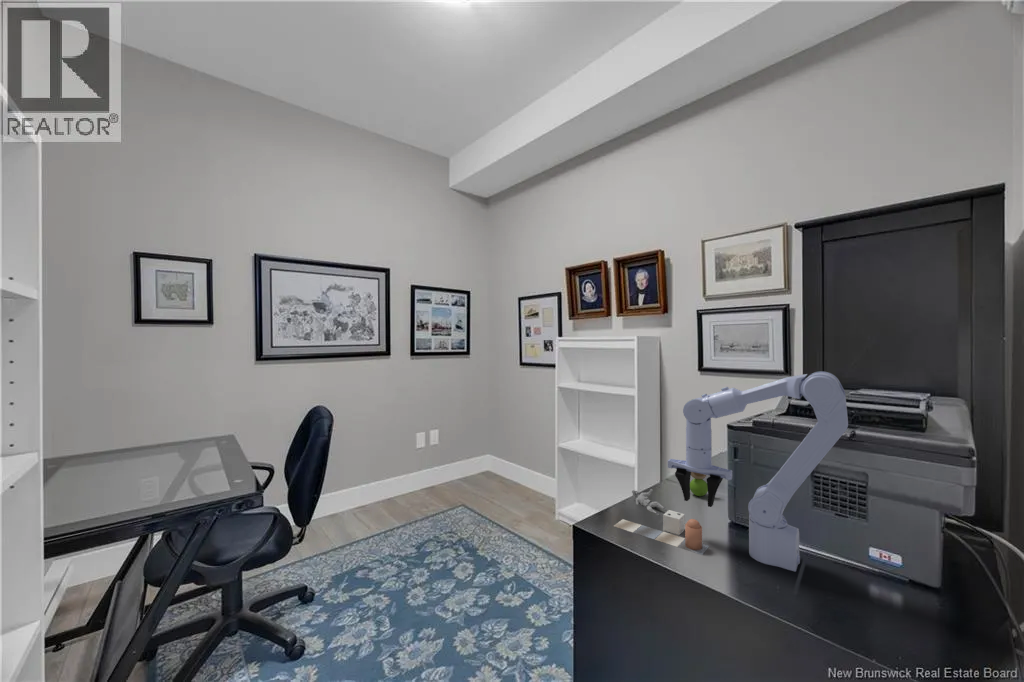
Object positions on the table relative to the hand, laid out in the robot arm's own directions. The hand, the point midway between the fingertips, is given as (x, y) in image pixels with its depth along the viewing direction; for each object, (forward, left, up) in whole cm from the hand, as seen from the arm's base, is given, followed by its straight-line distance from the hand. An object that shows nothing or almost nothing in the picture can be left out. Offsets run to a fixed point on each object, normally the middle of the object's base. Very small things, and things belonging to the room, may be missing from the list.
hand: (698, 502), depth 101 cm
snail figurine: (+10, -31, -10) cm, 33 cm away
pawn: (0, +5, -8) cm, 10 cm away
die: (+6, 0, -9) cm, 10 cm away
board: (+8, +3, -9) cm, 13 cm away
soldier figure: (+17, -10, -10) cm, 22 cm away
